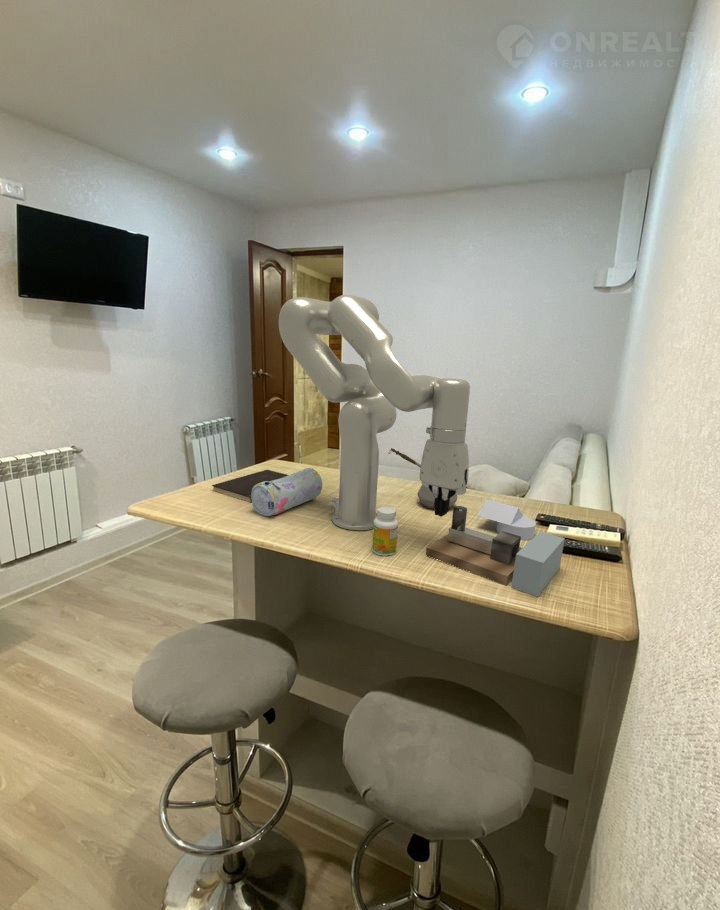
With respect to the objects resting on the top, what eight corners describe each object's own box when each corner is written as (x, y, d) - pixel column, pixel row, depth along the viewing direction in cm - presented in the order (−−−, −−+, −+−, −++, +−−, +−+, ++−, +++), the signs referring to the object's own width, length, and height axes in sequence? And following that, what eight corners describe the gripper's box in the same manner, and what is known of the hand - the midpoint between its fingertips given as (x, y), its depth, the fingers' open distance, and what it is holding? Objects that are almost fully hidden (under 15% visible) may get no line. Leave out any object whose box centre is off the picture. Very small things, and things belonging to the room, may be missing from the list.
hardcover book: (212, 492, 132) (211, 485, 131) (267, 475, 151) (267, 469, 150) (250, 504, 124) (250, 496, 123) (304, 485, 143) (304, 478, 142)
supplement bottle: (366, 550, 99) (369, 508, 96) (383, 543, 102) (385, 503, 100) (384, 559, 95) (387, 516, 93) (401, 551, 99) (404, 510, 96)
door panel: (425, 555, 97) (428, 528, 96) (456, 535, 109) (459, 510, 107) (506, 585, 87) (510, 554, 85) (530, 559, 98) (535, 532, 97)
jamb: (511, 587, 86) (516, 554, 84) (535, 560, 98) (540, 531, 96) (537, 597, 83) (543, 562, 82) (559, 568, 95) (564, 538, 93)
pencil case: (271, 521, 112) (271, 485, 109) (247, 513, 116) (247, 478, 114) (324, 500, 128) (325, 469, 126) (301, 494, 133) (302, 463, 131)
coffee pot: (459, 502, 133) (465, 453, 129) (452, 515, 122) (457, 462, 119) (391, 490, 140) (395, 444, 137) (379, 501, 130) (382, 451, 126)
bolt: (447, 540, 100) (451, 508, 98) (453, 536, 103) (457, 504, 101) (499, 557, 93) (504, 523, 91) (504, 552, 95) (509, 519, 94)
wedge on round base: (476, 528, 114) (526, 543, 107) (479, 503, 113) (531, 517, 105) (489, 518, 121) (538, 532, 113) (493, 495, 120) (542, 507, 112)
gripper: (409, 432, 99) (404, 510, 104) (472, 443, 90) (463, 527, 95) (426, 429, 105) (421, 502, 109) (487, 438, 96) (478, 518, 101)
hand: (440, 514), depth 102 cm, fingers closed
